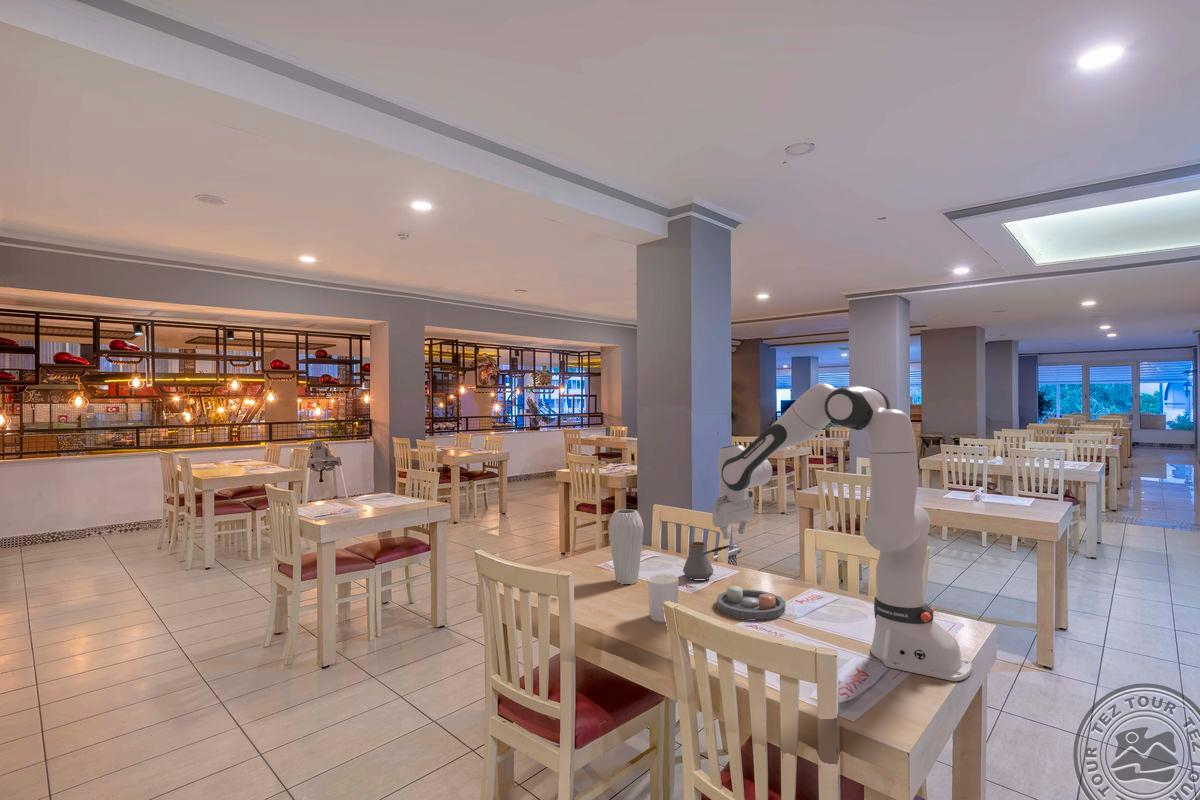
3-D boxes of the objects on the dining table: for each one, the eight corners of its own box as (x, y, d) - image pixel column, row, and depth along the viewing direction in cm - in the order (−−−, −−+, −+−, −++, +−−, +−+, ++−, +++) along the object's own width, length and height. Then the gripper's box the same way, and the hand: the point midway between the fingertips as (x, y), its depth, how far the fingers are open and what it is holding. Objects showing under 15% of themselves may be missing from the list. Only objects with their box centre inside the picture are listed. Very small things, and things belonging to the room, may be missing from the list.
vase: (645, 587, 205) (644, 514, 205) (609, 587, 205) (607, 515, 205) (643, 576, 218) (642, 507, 218) (609, 576, 218) (608, 508, 219)
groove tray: (796, 606, 183) (796, 599, 183) (764, 626, 168) (764, 617, 168) (738, 592, 197) (738, 585, 197) (704, 609, 182) (704, 601, 182)
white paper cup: (654, 625, 170) (653, 585, 170) (643, 613, 179) (642, 575, 179) (684, 621, 172) (684, 582, 172) (672, 610, 182) (671, 572, 182)
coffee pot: (676, 577, 216) (676, 538, 216) (697, 571, 223) (696, 533, 223) (720, 591, 199) (720, 548, 199) (741, 584, 206) (740, 543, 207)
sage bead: (745, 599, 187) (744, 587, 187) (739, 604, 183) (739, 592, 183) (730, 597, 190) (730, 585, 190) (725, 601, 186) (724, 589, 186)
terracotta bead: (778, 608, 178) (778, 596, 179) (770, 613, 175) (770, 600, 175) (763, 605, 182) (763, 592, 182) (756, 609, 178) (755, 596, 178)
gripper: (723, 499, 177) (725, 543, 177) (756, 491, 192) (758, 532, 191) (706, 497, 182) (708, 540, 181) (740, 489, 196) (741, 529, 196)
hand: (734, 536), depth 186 cm, fingers open, 8 cm apart
